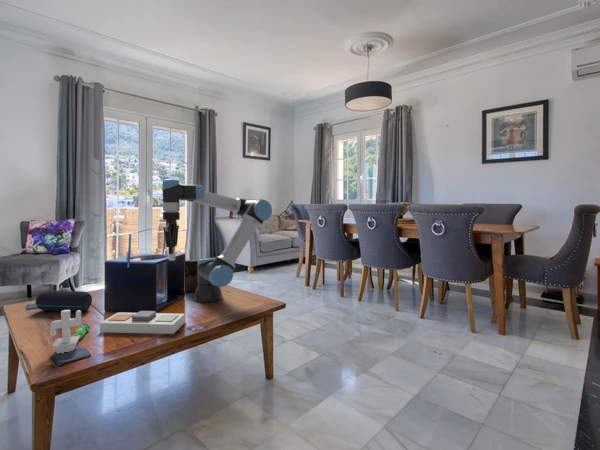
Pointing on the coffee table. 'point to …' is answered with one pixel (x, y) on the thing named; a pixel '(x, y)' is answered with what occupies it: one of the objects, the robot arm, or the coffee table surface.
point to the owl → (191, 276)
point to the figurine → (65, 332)
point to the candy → (81, 331)
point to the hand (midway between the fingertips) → (172, 260)
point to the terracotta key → (121, 317)
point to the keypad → (142, 325)
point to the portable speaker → (64, 301)
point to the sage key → (166, 318)
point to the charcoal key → (144, 316)
